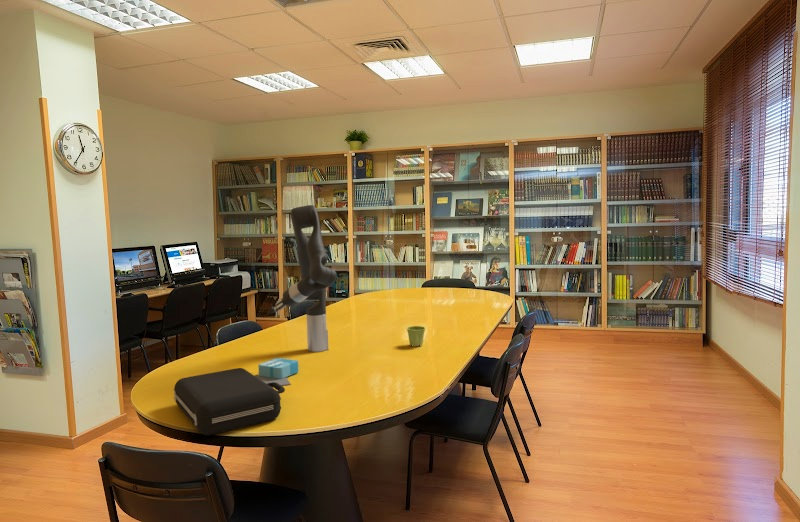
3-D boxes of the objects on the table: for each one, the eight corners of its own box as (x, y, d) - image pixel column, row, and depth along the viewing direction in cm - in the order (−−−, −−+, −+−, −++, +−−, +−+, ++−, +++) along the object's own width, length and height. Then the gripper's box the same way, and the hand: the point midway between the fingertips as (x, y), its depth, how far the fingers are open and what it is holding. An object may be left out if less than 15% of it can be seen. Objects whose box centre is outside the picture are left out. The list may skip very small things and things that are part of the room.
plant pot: (429, 344, 259) (428, 326, 258) (421, 348, 251) (421, 330, 250) (411, 342, 263) (411, 325, 262) (403, 347, 255) (403, 329, 254)
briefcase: (303, 416, 168) (302, 385, 167) (200, 441, 150) (198, 407, 149) (262, 387, 198) (261, 361, 197) (172, 406, 180) (170, 377, 179)
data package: (279, 368, 205) (256, 364, 210) (280, 379, 205) (257, 375, 211) (299, 360, 215) (277, 357, 221) (300, 371, 216) (277, 368, 221)
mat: (282, 372, 216) (281, 371, 216) (290, 384, 200) (290, 383, 200) (246, 377, 211) (246, 376, 211) (252, 390, 194) (252, 389, 194)
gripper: (300, 280, 221) (275, 298, 229) (281, 291, 209) (255, 310, 218) (310, 295, 221) (285, 313, 230) (292, 307, 209) (266, 325, 218)
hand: (270, 311), depth 224 cm, fingers closed
